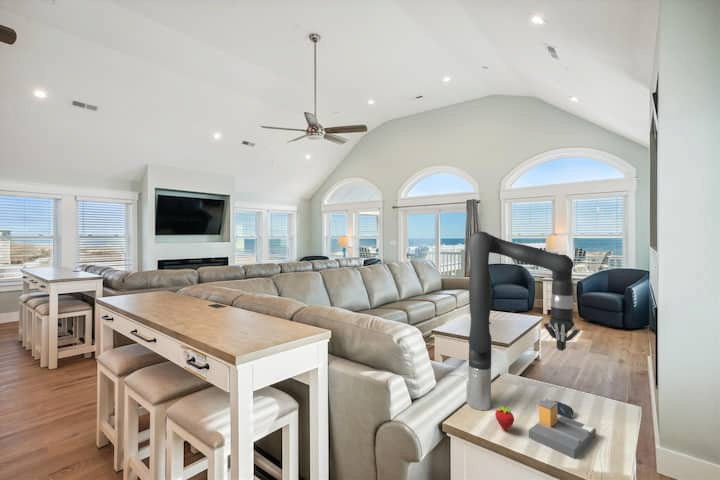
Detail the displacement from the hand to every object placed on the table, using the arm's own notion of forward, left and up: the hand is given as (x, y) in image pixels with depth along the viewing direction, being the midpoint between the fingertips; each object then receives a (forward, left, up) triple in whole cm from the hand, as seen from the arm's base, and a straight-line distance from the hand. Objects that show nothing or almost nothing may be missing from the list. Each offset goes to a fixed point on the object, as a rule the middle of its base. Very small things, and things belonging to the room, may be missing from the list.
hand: (561, 350), depth 137 cm
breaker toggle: (0, -10, -26) cm, 28 cm away
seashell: (-4, +7, -29) cm, 30 cm away
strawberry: (-11, -22, -29) cm, 38 cm away
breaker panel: (+4, -10, -29) cm, 31 cm away
